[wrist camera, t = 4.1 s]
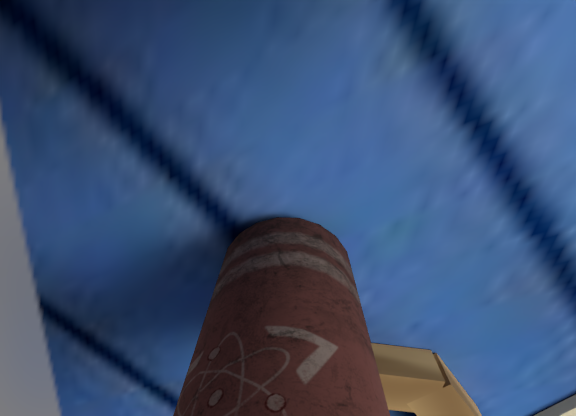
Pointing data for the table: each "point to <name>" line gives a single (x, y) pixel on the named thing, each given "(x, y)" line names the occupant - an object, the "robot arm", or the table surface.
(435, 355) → the wooden ring
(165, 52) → the table surface
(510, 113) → the table surface
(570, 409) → the straight beige square stick
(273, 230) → the can
